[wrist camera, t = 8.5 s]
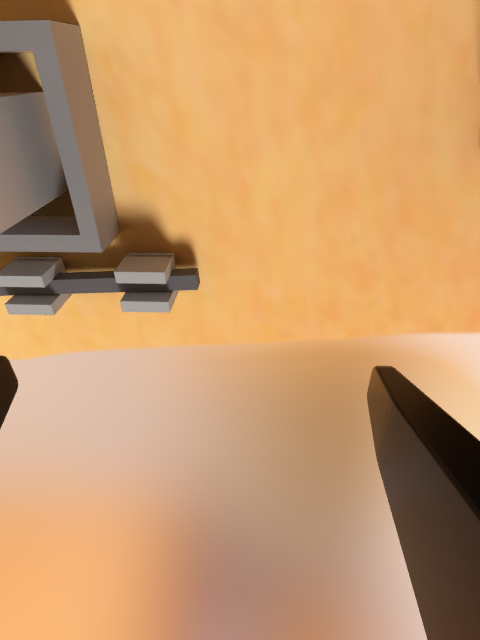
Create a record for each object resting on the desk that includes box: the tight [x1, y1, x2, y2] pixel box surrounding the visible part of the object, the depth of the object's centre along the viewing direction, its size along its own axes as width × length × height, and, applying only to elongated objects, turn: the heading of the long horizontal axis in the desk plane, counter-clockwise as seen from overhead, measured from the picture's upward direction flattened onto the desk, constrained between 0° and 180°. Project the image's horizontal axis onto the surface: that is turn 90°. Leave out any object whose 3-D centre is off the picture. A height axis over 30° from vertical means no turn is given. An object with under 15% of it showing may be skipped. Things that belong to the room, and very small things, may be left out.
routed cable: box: [0, 253, 200, 315], centre depth 20 cm, size 11×2×2 cm, turn 91°
